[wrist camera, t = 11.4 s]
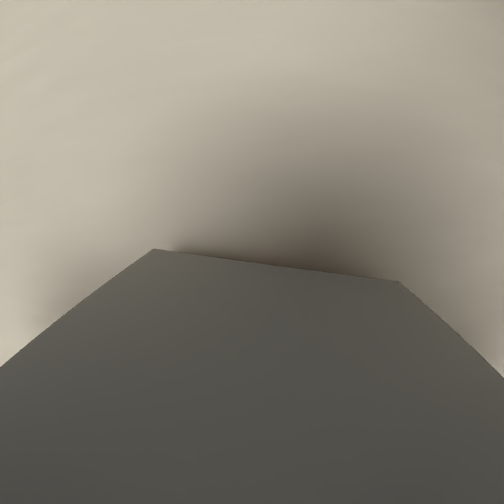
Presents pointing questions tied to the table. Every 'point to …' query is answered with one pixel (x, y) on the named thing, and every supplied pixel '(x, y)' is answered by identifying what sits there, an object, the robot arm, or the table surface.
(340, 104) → the table surface
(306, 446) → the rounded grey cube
